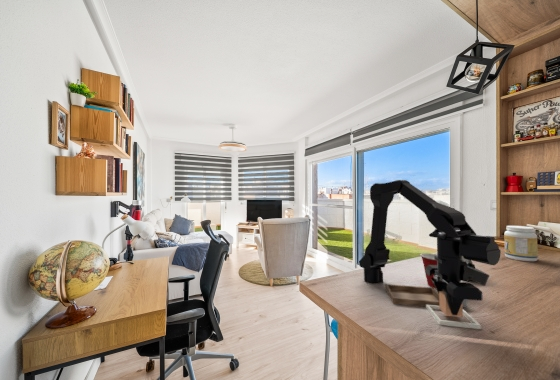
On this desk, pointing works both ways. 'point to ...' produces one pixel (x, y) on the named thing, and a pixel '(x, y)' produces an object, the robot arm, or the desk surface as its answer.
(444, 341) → the desk surface
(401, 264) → the desk surface
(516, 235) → the supplement tub
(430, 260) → the plastic cup
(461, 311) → the terracotta block
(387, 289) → the walnut box
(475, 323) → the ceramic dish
